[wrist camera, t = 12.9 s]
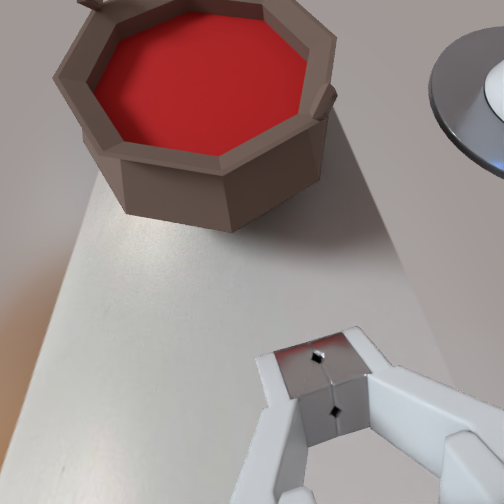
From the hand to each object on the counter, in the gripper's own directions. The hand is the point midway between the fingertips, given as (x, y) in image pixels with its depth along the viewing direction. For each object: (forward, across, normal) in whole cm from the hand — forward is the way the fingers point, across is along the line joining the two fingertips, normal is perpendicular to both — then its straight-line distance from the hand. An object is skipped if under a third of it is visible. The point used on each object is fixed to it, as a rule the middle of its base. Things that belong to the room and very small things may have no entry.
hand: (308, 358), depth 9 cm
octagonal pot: (+31, 0, -1) cm, 31 cm away
